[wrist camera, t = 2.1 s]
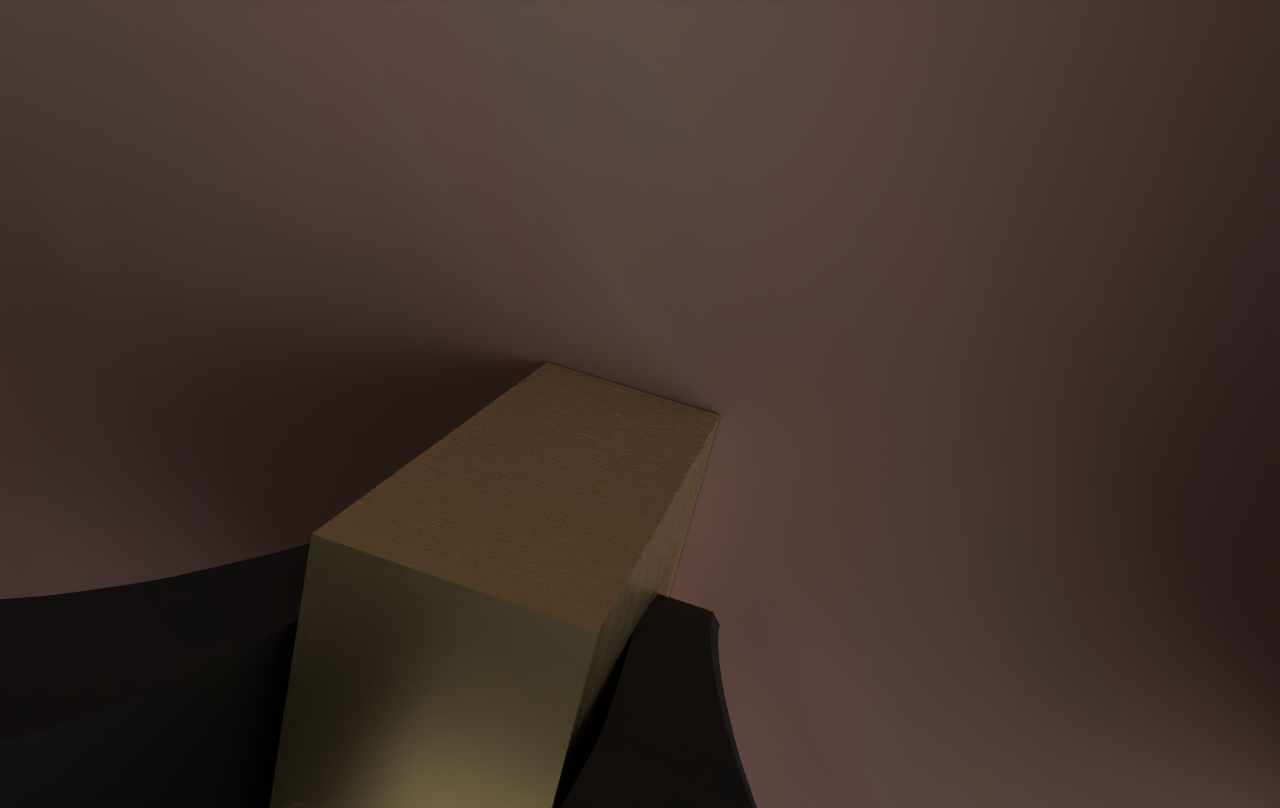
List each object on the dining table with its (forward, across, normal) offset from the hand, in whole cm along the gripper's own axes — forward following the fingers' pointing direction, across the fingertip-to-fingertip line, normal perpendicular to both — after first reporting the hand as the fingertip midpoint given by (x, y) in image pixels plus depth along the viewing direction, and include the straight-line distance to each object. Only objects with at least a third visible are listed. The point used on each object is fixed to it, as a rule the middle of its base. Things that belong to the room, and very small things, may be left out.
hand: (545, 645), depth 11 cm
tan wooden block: (+1, 0, 0) cm, 1 cm away
